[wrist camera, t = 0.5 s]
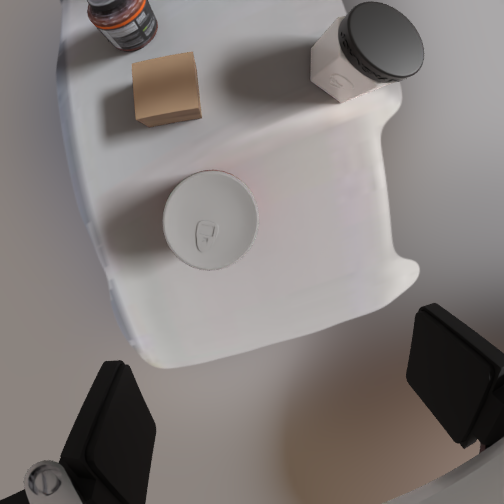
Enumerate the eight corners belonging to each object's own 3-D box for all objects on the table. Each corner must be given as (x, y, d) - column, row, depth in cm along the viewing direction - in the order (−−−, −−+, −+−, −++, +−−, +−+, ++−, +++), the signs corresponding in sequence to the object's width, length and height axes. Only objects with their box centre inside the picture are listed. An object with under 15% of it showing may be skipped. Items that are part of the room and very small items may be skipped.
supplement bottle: (116, 16, 26) (85, -27, 15) (161, 11, 26) (143, -39, 16) (108, 55, 27) (70, 19, 17) (155, 50, 28) (131, 7, 17)
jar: (293, 71, 30) (326, 32, 19) (326, 29, 29) (366, -16, 18) (354, 116, 33) (409, 99, 21) (382, 71, 31) (438, 45, 20)
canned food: (181, 241, 35) (166, 273, 24) (177, 171, 32) (158, 173, 22) (248, 238, 35) (260, 269, 25) (246, 168, 33) (258, 168, 23)
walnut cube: (145, 79, 29) (131, 63, 23) (196, 70, 29) (192, 51, 24) (149, 127, 31) (135, 119, 25) (201, 118, 31) (198, 107, 25)
